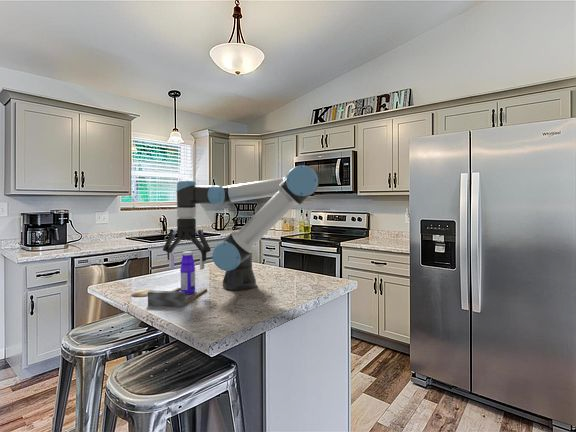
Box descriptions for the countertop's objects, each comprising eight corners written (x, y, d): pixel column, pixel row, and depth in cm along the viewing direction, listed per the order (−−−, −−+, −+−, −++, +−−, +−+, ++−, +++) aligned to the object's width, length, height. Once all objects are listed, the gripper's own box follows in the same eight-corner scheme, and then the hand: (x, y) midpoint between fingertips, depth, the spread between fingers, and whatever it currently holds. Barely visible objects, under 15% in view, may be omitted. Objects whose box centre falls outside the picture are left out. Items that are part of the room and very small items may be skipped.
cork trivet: (159, 291, 142) (159, 290, 142) (146, 297, 133) (146, 295, 133) (140, 290, 144) (140, 289, 144) (126, 296, 135) (126, 294, 135)
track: (207, 290, 142) (206, 279, 142) (182, 307, 120) (181, 293, 120) (177, 289, 145) (177, 278, 144) (147, 305, 123) (147, 292, 122)
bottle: (183, 290, 143) (182, 250, 142) (196, 290, 143) (195, 250, 143) (179, 295, 136) (178, 253, 135) (193, 295, 136) (192, 252, 136)
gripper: (218, 217, 140) (218, 267, 141) (163, 217, 144) (164, 265, 145) (211, 218, 133) (211, 271, 134) (153, 218, 137) (154, 269, 138)
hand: (186, 268), depth 139 cm, fingers open, 13 cm apart
